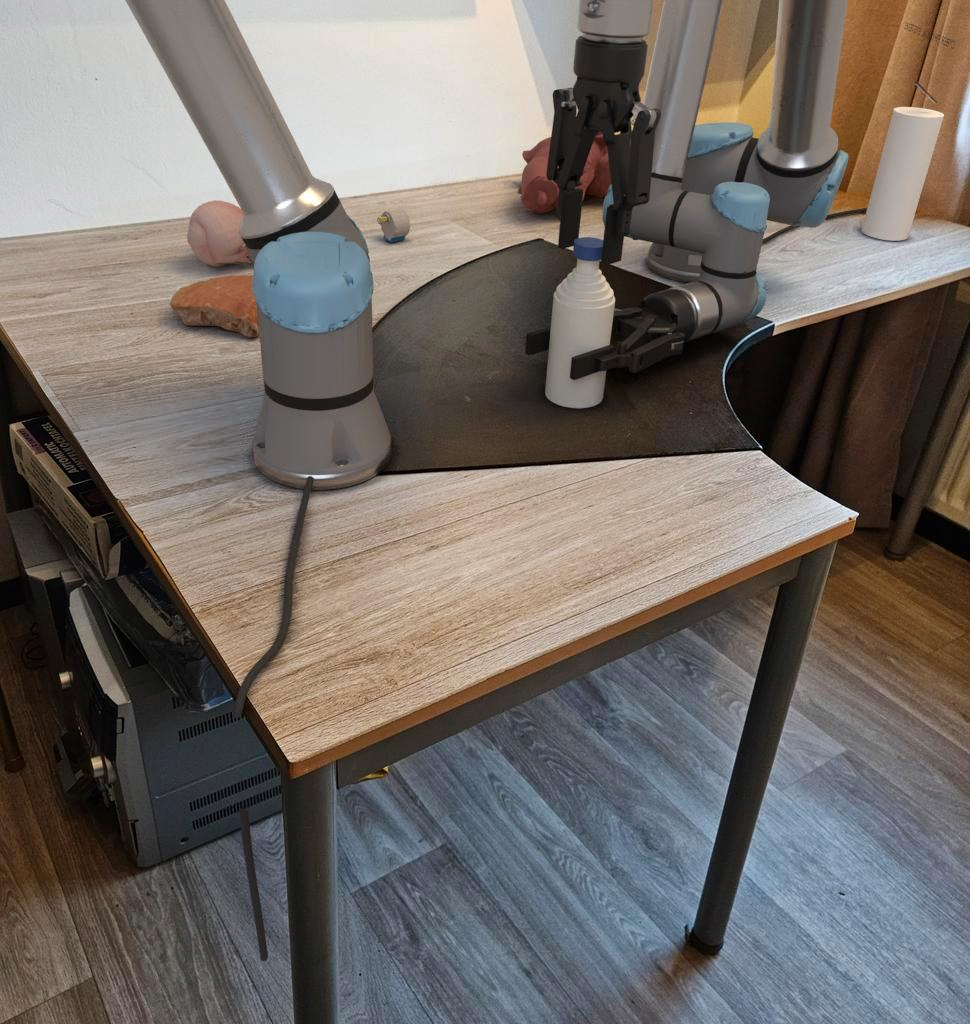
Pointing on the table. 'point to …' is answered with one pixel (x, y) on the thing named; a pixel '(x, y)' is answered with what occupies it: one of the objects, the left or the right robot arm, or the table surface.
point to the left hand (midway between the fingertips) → (589, 253)
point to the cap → (588, 248)
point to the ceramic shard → (219, 304)
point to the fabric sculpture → (545, 193)
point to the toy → (217, 234)
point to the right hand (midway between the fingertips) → (550, 356)
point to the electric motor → (394, 225)
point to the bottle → (579, 334)
